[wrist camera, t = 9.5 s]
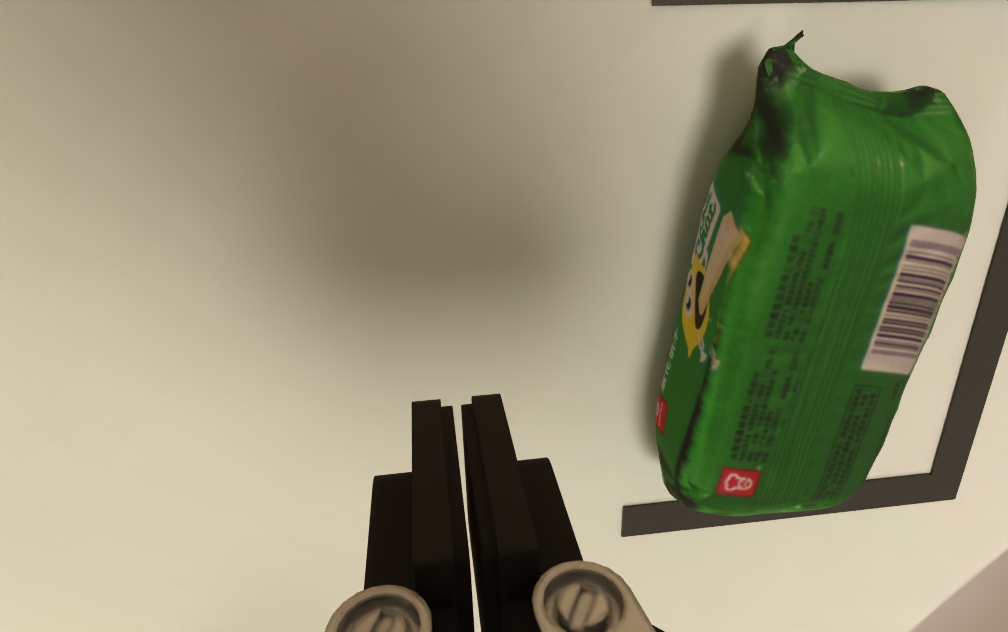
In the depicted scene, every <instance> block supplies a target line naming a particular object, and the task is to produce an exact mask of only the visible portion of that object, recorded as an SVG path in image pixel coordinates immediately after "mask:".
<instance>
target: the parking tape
mask: <svg viewBox="0 0 1008 632" xmlns="http://www.w3.org/2000/svg"><path fill="white" fill-rule="evenodd" d="M857 1H905V0H652V6H667V5H715V4H762V3H810V2H857ZM1007 332H1008V207H1007V211H1006V214H1005V218H1004V221H1003V225H1002V228H1001V232H1000V235H999V239H998V242H997V246H996V249H995V253H994V256H993V260H992V263H991V266H990V270H989V273H988V277H987V280H986V284H985V287H984V291H983V294H982V298H981V301H980V305H979V308H978V312H977V315H976V318H975V322H974V325H973V329H972V332H971V336H970V339H969V343H968V346H967V350H966V353H965V357H964V360H963V364H962V367H961V370H960V374H959V377H958V381H957V384H956V388H955V391H954V395H953V398H952V402H951V405H950V409H949V412H948V416H947V419H946V423H945V426H944V429H943V433H942V436H941V440H940V443H939V447H938V450H937V454H936V457H935V461H934V464H933V468H932V471H931V474H923V475H913V476H904V477H895V478H886V479H877V480H867V481H864V482H863V484H862V486H861V487H860V488H859V489H858V490H857V491H856V492H855V493H854V494H853V495H852V496H851V497H850V498H848V499H847V500H846V501H844V502H843V503H841V504H838V505H835V506H832V507H828V508H824V509H817V510H808V511H799V512H780V513H765V514H756V515H748V516H725V515H716V514H709V513H704V512H700V511H696V510H693V509H690V508H687V507H686V506H685V505H683V504H682V503H681V502H679V501H674V502H665V503H656V504H647V505H637V506H628V507H623V518H622V535H621V536H622V537H627V536H636V535H645V534H654V533H662V532H671V531H680V530H689V529H697V528H706V527H715V526H724V525H733V524H741V523H750V522H759V521H768V520H777V519H785V518H794V517H803V516H812V515H820V514H829V513H838V512H847V511H856V510H864V509H873V508H882V507H891V506H899V505H908V504H917V503H926V502H935V501H943V500H952V499H955V498H956V495H957V492H958V488H959V485H960V482H961V479H962V476H963V472H964V469H965V466H966V463H967V460H968V456H969V453H970V450H971V447H972V444H973V440H974V437H975V434H976V431H977V428H978V424H979V421H980V418H981V415H982V412H983V408H984V405H985V402H986V399H987V396H988V392H989V389H990V386H991V383H992V380H993V376H994V373H995V370H996V367H997V364H998V361H999V357H1000V354H1001V351H1002V348H1003V345H1004V341H1005V338H1006V335H1007Z"/></svg>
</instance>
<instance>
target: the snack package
mask: <svg viewBox="0 0 1008 632" xmlns="http://www.w3.org/2000/svg"><path fill="white" fill-rule="evenodd" d="M803 36H804V35H803V30H802V31H801V32H800V33H798V34H797V35H796V36H795V37H794V38H793V39H792V40H791V41H789V42H788V43H787V44H785V45H784V46H779V47H772V48H770V49H769V50H768V51H767V52H766V54H765V56H764V58H763V59H762V61H761V63H760V65H759V67H758V75H757V84H756V96H755V103H754V108H753V111H752V114H751V117H750V119H749V121H748V123H747V125H746V127H745V128H744V130H743V131H742V133H741V134H740V136H739V137H738V139H737V140H736V142H735V143H734V144H733V146H732V147H731V149H730V150H729V151H728V153H727V154H726V155H725V156H724V158H723V160H722V161H721V163H720V165H719V167H718V169H717V171H716V173H715V175H714V178H713V180H712V183H711V187H710V191H709V195H708V198H707V201H706V203H705V206H704V208H703V210H702V214H701V220H700V225H699V230H698V235H697V239H696V243H695V247H694V251H693V255H692V260H691V264H690V268H689V272H688V276H687V280H686V283H685V287H684V292H683V297H682V301H681V305H680V309H679V312H678V316H677V320H676V325H675V331H674V335H673V340H672V344H671V348H670V351H669V355H668V359H667V364H666V368H665V373H664V377H663V381H662V385H661V389H660V393H659V397H658V401H657V410H656V438H657V447H658V451H659V459H660V465H661V472H662V478H663V481H664V484H665V486H666V488H667V490H668V491H669V493H670V494H671V495H672V496H673V497H674V498H675V499H677V500H678V501H679V502H681V503H682V504H683V505H685V506H686V507H687V508H690V509H693V510H696V511H700V512H704V513H709V514H716V515H725V516H748V515H756V514H765V513H780V512H799V511H808V510H817V509H824V508H828V507H832V506H835V505H838V504H841V503H843V502H844V501H846V500H847V499H848V498H850V497H851V496H852V495H853V494H854V493H855V492H856V491H857V490H858V489H859V488H860V487H861V486H862V484H863V482H864V481H865V479H866V477H867V475H868V473H869V471H870V469H871V467H872V465H873V463H874V461H875V459H876V457H877V456H878V454H879V452H880V450H881V448H882V447H883V444H884V442H885V439H886V437H887V434H888V431H889V428H890V425H891V423H892V420H893V418H894V416H895V414H896V412H897V410H898V407H899V403H900V400H901V396H902V394H903V391H904V389H905V386H906V384H907V382H908V380H909V377H910V375H911V373H912V371H913V368H914V366H915V364H916V362H917V360H918V357H919V355H920V353H921V351H922V349H923V346H924V344H925V343H926V341H927V339H928V337H929V335H930V333H931V331H932V328H933V325H934V322H935V320H936V317H937V314H938V311H939V308H940V305H941V303H942V300H943V298H944V296H945V294H946V291H947V289H948V287H949V285H950V283H951V281H952V279H953V277H954V274H955V271H956V268H957V265H958V262H959V259H960V256H961V253H962V250H963V248H964V245H965V242H966V239H967V236H968V233H969V230H970V226H971V221H972V216H973V210H974V205H975V198H976V169H975V163H974V156H973V150H972V146H971V142H970V138H969V136H968V134H967V131H966V129H965V127H964V125H963V123H962V121H961V119H960V117H959V116H958V114H957V112H956V110H955V109H954V107H953V105H952V104H951V102H950V101H949V99H948V98H947V96H946V95H945V94H944V93H943V92H942V91H940V90H938V89H935V88H932V87H929V86H917V87H914V88H910V89H906V90H901V91H894V92H876V91H865V90H862V89H859V88H857V87H855V86H853V85H851V84H850V83H848V82H845V81H842V80H838V79H835V78H833V77H830V76H827V75H824V74H822V73H819V72H817V71H815V70H813V69H811V68H810V67H809V66H808V65H807V64H805V63H804V62H803V61H802V60H801V59H800V58H799V57H798V56H797V55H796V54H795V52H794V46H795V43H796V42H797V41H798V40H799V39H800V38H801V37H803Z"/></svg>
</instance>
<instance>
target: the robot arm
mask: <svg viewBox="0 0 1008 632" xmlns="http://www.w3.org/2000/svg"><path fill="white" fill-rule="evenodd" d="M461 411H462V428H463V444H464V460H465V476H466V493H467V509H468V523H469V533H470V542H471V550H472V558H473V567H474V575H475V583H476V592H477V600H478V608H479V617H480V625H481V632H664V631H662V630H660V629H659V628H657V627H655V626H653V625H652V624H651V622H650V621H649V619H648V617H647V616H646V614H645V612H644V611H643V609H642V607H641V606H640V604H639V602H638V601H637V599H636V597H635V596H634V594H633V592H632V591H631V589H630V587H629V586H628V585H627V584H626V582H625V581H624V580H623V579H622V578H621V576H619V575H618V574H616V573H615V572H614V571H612V570H611V569H609V568H607V567H605V566H602V565H599V564H597V563H594V562H587V561H583V559H582V556H581V553H580V550H579V547H578V544H577V541H576V538H575V535H574V532H573V529H572V526H571V523H570V520H569V517H568V514H567V511H566V508H565V505H564V502H563V499H562V496H561V493H560V490H559V487H558V483H557V480H556V477H555V474H554V471H553V468H552V465H551V463H550V461H549V459H548V458H538V459H528V460H519V461H517V458H516V454H515V450H514V446H513V442H512V438H511V434H510V430H509V426H508V422H507V418H506V414H505V411H504V407H503V403H502V399H501V395H500V394H491V395H480V396H472V404H465V405H461ZM325 632H474V617H473V601H472V585H471V570H470V558H469V547H468V538H467V529H466V521H465V512H464V503H463V494H462V486H461V477H460V468H459V460H458V451H457V442H456V433H455V425H454V416H453V407H452V406H444V407H441V401H440V399H438V400H427V401H416V402H412V472H407V473H397V474H388V475H379V476H375V477H374V480H373V489H372V500H371V512H370V524H369V536H368V548H367V559H366V571H365V583H364V590H363V591H361V592H358V593H356V594H355V595H353V596H352V597H350V598H349V599H347V600H346V601H344V602H343V603H342V604H341V606H340V607H339V608H338V609H337V610H336V611H335V612H334V613H333V615H332V617H331V619H330V621H329V623H328V625H327V627H326V629H325Z"/></svg>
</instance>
